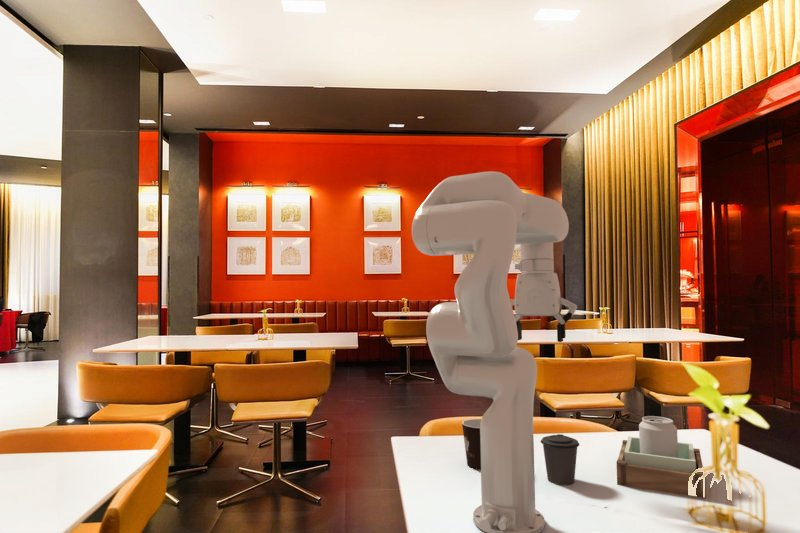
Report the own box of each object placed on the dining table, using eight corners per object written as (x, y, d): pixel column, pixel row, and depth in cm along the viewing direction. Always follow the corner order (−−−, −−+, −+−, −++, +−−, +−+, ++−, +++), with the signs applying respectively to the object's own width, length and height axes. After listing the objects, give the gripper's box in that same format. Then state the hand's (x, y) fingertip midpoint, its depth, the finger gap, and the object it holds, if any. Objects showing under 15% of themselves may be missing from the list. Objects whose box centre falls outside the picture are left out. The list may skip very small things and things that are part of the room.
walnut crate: (706, 502, 96) (704, 474, 97) (617, 488, 104) (616, 462, 104) (700, 473, 112) (699, 449, 112) (623, 462, 120) (623, 439, 120)
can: (669, 468, 111) (667, 414, 112) (685, 480, 104) (683, 423, 105) (635, 467, 112) (633, 414, 113) (648, 479, 105) (646, 422, 105)
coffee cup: (568, 476, 111) (567, 431, 112) (588, 489, 103) (586, 441, 104) (535, 478, 110) (534, 433, 110) (552, 492, 102) (551, 443, 102)
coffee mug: (464, 458, 124) (463, 418, 124) (498, 460, 122) (498, 419, 123) (460, 474, 112) (459, 430, 113) (498, 477, 111) (497, 432, 111)
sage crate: (697, 492, 99) (695, 461, 99) (625, 481, 105) (624, 452, 106) (693, 471, 111) (692, 443, 111) (629, 462, 117) (628, 436, 117)
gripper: (496, 268, 117) (498, 340, 116) (572, 265, 109) (575, 343, 108) (505, 269, 123) (507, 338, 122) (578, 267, 115) (580, 340, 114)
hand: (539, 340), depth 115 cm, fingers open, 9 cm apart
